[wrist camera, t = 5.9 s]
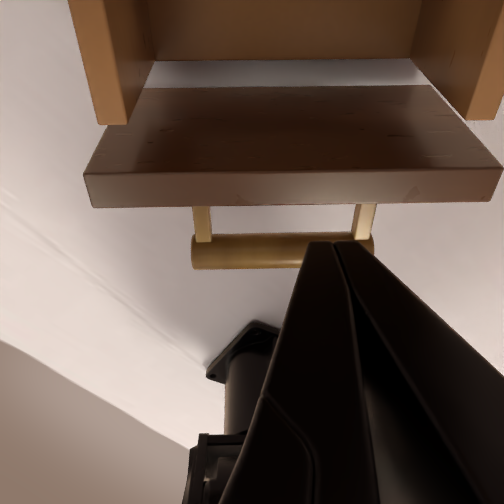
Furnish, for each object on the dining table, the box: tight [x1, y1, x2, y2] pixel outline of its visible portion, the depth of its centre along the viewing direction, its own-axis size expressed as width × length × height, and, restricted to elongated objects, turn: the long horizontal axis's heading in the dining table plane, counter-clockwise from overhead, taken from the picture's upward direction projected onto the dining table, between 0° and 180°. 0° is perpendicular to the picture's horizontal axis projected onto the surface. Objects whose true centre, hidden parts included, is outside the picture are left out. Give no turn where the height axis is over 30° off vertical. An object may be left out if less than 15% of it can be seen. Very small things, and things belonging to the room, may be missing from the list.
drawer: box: [68, 0, 504, 270], centre depth 13 cm, size 18×12×6 cm, turn 0°
